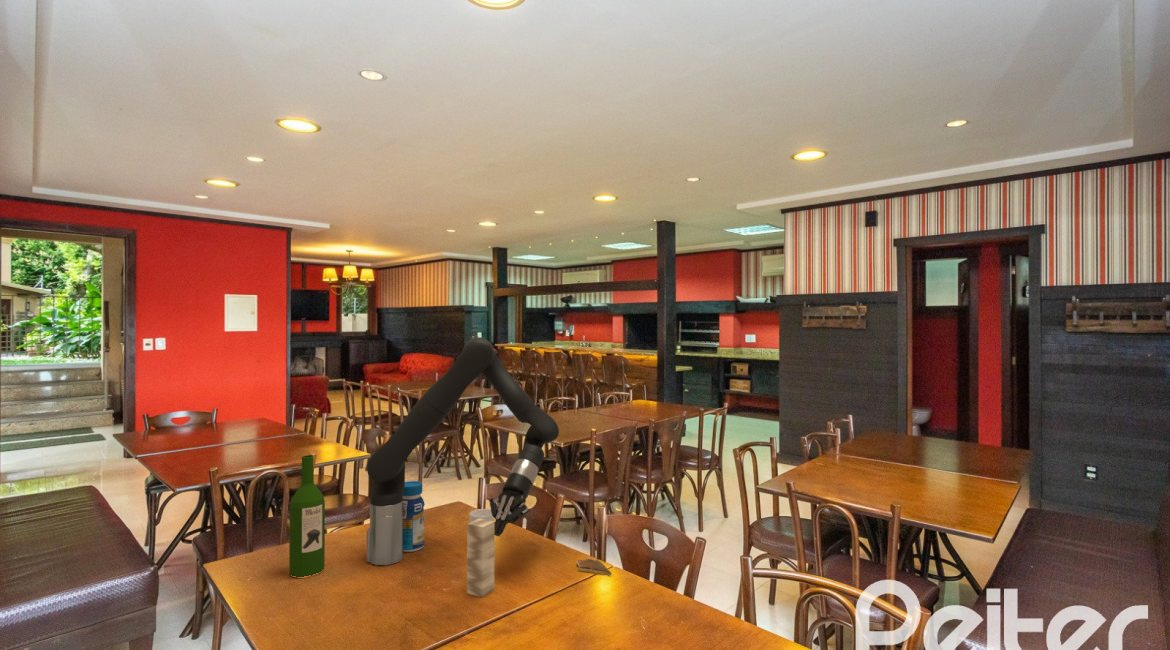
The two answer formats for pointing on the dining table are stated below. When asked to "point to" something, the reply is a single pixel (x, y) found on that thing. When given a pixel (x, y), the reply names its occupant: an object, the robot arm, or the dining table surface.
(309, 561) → the wine bottle
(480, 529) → the birch block
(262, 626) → the dining table surface
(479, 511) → the white cup
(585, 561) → the shard
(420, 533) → the beverage bottle
